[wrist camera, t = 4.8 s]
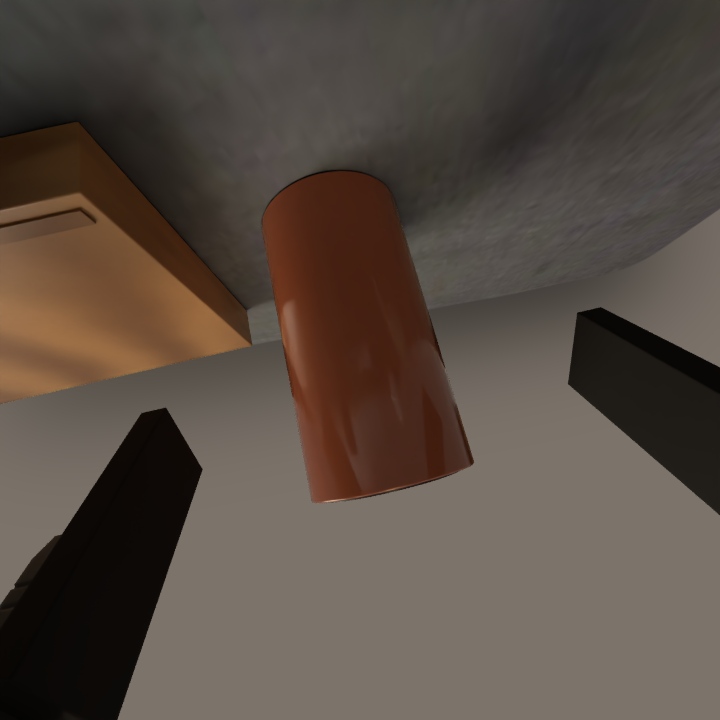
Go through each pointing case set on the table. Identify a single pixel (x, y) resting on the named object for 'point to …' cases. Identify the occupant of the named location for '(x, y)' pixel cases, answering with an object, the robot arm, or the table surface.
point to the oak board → (95, 273)
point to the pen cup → (358, 341)
